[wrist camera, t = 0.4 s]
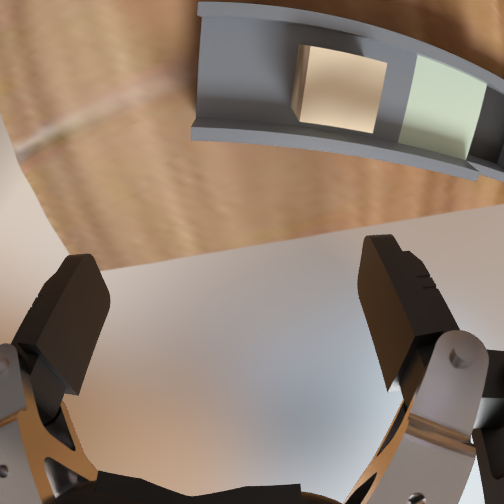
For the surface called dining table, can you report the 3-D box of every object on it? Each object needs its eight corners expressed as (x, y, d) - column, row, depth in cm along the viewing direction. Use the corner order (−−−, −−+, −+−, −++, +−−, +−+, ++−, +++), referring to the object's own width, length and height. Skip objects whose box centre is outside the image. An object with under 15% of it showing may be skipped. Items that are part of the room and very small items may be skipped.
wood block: (298, 44, 19) (310, 45, 16) (363, 56, 20) (387, 63, 16) (290, 106, 22) (299, 121, 19) (352, 116, 23) (372, 133, 19)
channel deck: (207, 8, 20) (198, 1, 15) (521, 95, 22) (554, 112, 18) (200, 120, 26) (190, 140, 21) (498, 172, 28) (525, 196, 24)
